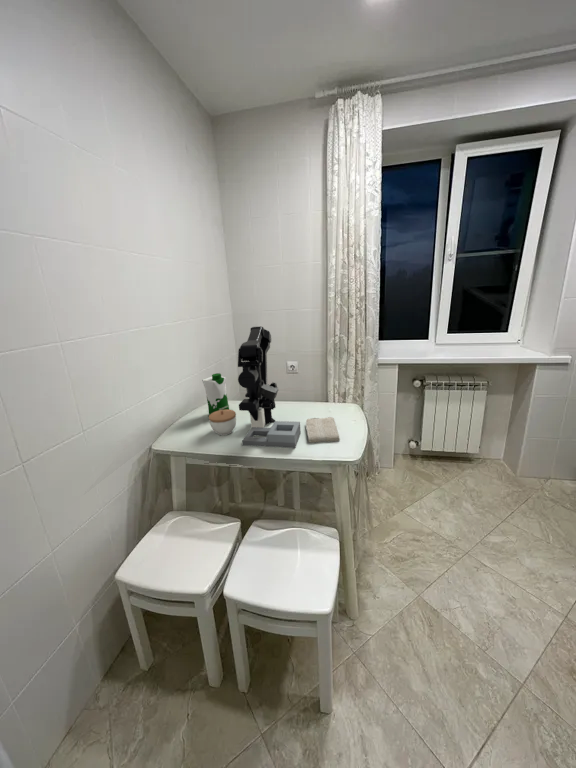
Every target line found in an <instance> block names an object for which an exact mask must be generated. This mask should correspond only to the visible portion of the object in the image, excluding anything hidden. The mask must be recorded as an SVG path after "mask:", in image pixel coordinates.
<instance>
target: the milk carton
mask: <svg viewBox="0 0 576 768" xmlns="http://www.w3.org/2000/svg"><path fill="white" fill-rule="evenodd" d="M226 383H227V376H222V374H221V373H220V372H219V373H213V374H211V376H209V377H207V378H204V379H202V384H203V386H204V389H205V394H206V395H205V396H206V401H207V406H208V407H207V408H208V416H209V415H210V414H211V413H213V412H216V411H219V410H226V409H228V410H230V405H229V400H228V399H229V398H228V393H227V385H226Z"/></svg>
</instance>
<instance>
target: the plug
mask: <svg viewBox="0 0 576 768" xmlns="http://www.w3.org/2000/svg"><path fill="white" fill-rule="evenodd" d="M249 417H250V423H251V424H250V425H251V427H260V428H265V426H266V424H265V416H264V408H262V407H259V408H258V421H255V420H254V419H253V417H252V416H251V414H250V413H249Z"/></svg>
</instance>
